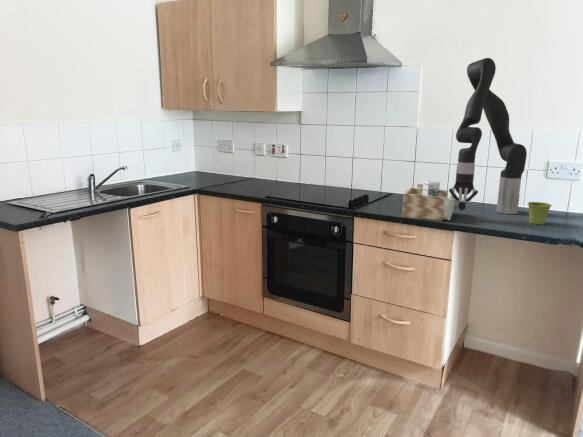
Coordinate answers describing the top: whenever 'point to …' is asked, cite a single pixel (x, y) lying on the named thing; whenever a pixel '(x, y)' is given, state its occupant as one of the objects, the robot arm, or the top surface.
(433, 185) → the syrup box
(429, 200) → the caddy
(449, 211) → the drawer
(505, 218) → the top surface
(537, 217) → the plant pot
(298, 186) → the top surface
